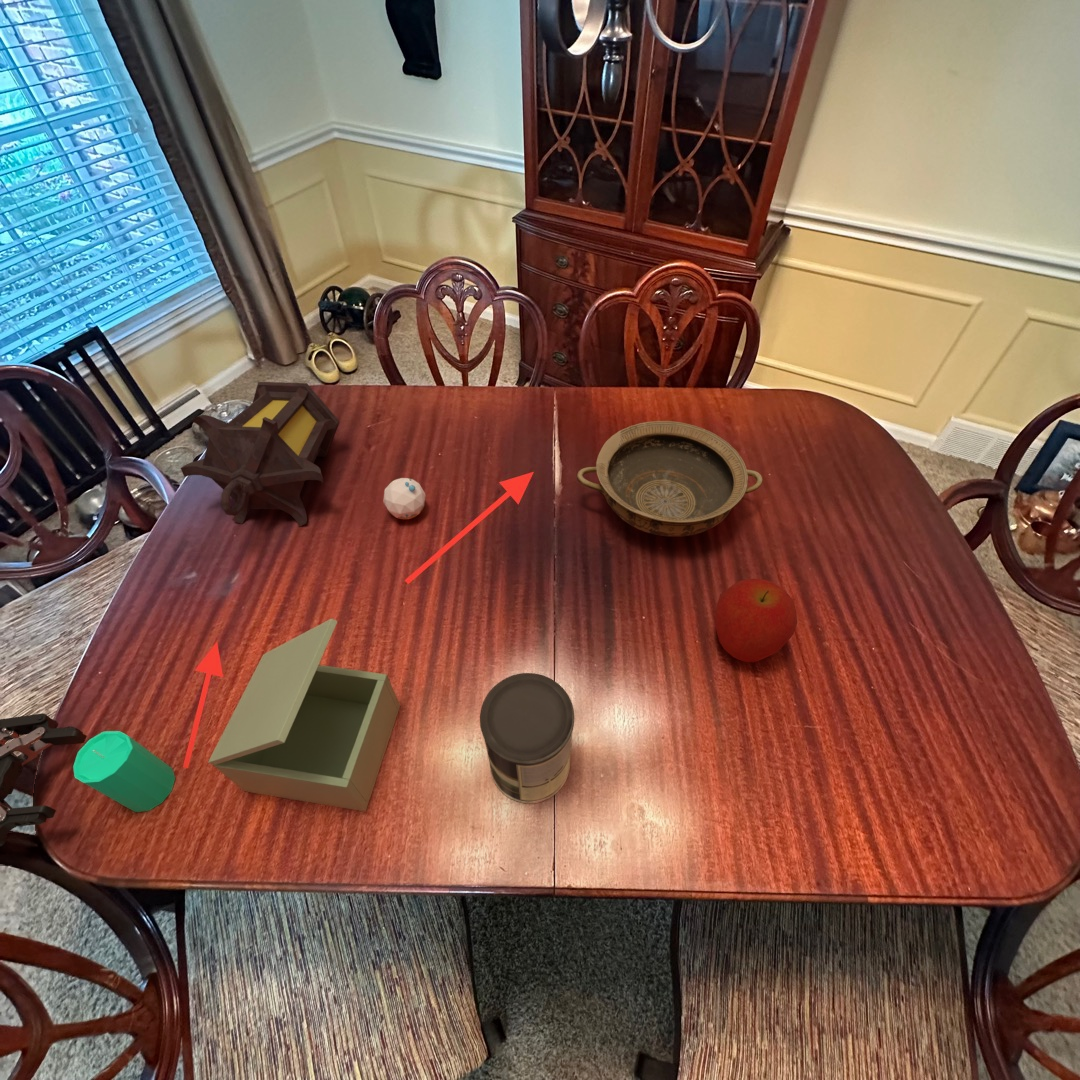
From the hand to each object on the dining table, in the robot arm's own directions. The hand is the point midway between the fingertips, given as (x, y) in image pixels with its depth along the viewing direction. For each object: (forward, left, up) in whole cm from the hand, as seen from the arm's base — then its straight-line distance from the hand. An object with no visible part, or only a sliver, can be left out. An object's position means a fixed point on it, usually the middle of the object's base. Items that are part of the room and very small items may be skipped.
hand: (66, 772), depth 69 cm
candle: (+4, -4, -7) cm, 9 cm away
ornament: (+56, +5, -7) cm, 57 cm away
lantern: (+46, +26, -7) cm, 53 cm away
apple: (+68, -52, -7) cm, 86 cm away
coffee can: (+36, -39, -7) cm, 54 cm away
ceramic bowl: (+84, -29, -7) cm, 89 cm away
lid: (+20, -16, +8) cm, 27 cm away
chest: (+21, -17, -7) cm, 28 cm away
